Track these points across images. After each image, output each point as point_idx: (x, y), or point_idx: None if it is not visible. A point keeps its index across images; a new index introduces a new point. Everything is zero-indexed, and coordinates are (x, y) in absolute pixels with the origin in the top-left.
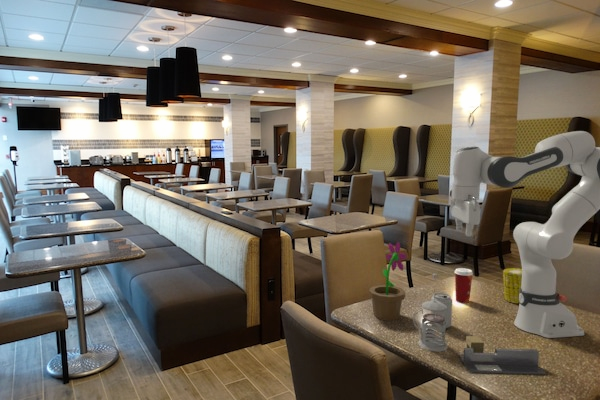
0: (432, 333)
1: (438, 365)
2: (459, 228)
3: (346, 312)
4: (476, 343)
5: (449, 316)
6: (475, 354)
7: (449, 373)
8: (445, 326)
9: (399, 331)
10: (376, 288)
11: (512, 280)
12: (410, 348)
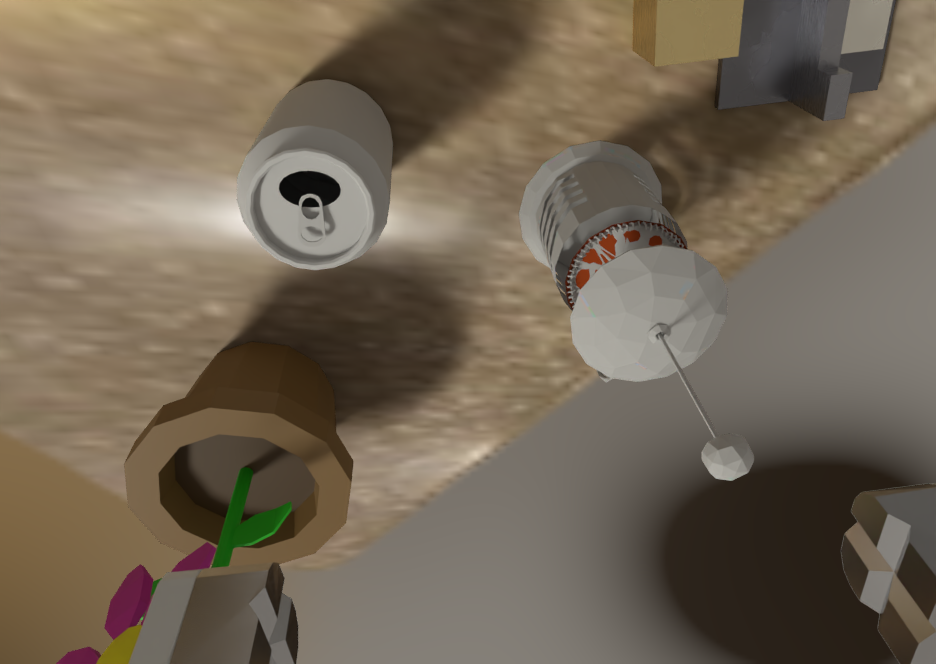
0: (540, 222)
1: (791, 213)
2: (273, 659)
3: None
4: (739, 22)
5: (370, 118)
6: (840, 55)
7: (862, 178)
8: (647, 202)
9: (458, 346)
10: (209, 539)
11: None
12: None
